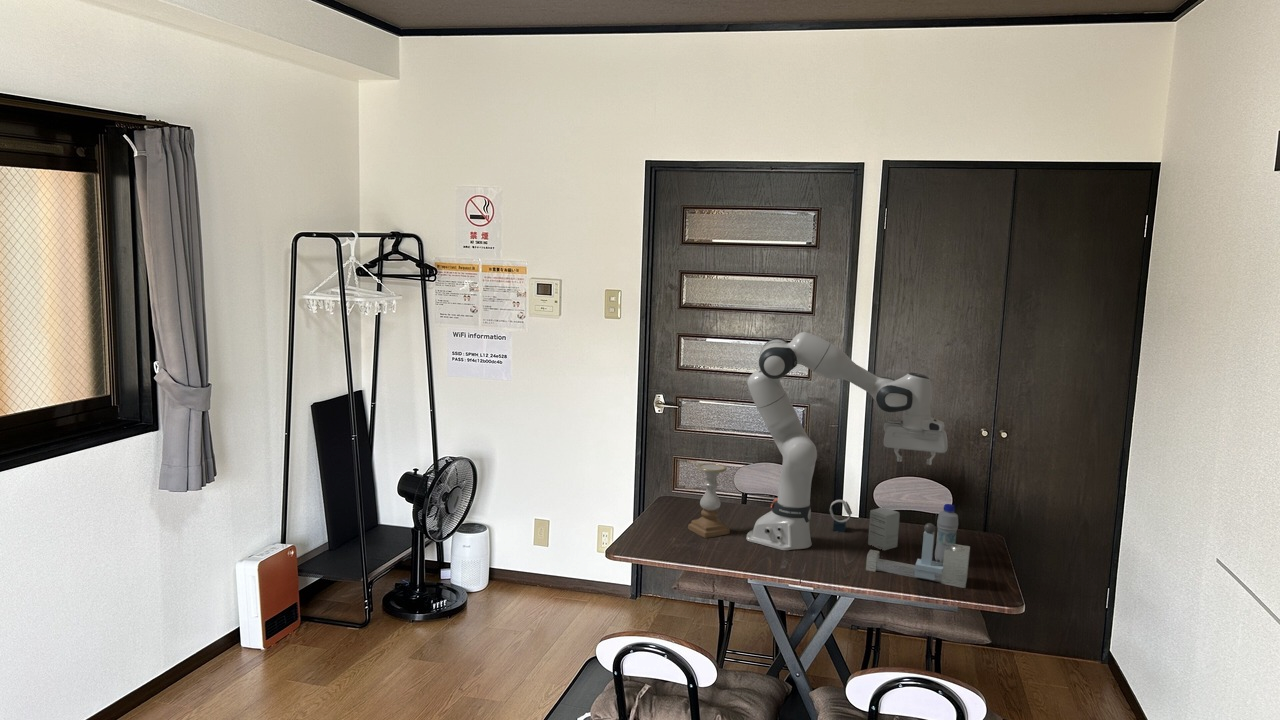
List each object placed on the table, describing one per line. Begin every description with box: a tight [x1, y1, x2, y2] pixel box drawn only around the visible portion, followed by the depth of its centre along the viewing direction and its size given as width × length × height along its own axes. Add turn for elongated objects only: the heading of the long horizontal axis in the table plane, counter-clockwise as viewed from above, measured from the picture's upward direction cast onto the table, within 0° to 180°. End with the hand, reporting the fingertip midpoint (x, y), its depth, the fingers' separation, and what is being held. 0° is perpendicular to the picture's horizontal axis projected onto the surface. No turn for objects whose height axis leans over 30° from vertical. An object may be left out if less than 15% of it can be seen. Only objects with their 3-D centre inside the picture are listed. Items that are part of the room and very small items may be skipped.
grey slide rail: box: [865, 543, 971, 589], centre depth 270 cm, size 30×8×11 cm, turn 65°
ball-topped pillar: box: [913, 522, 943, 581], centre depth 267 cm, size 8×6×17 cm
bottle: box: [934, 503, 959, 563], centre depth 282 cm, size 7×7×20 cm
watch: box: [829, 499, 853, 533], centre depth 312 cm, size 6×8×11 cm
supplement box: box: [867, 506, 900, 551], centre depth 296 cm, size 7×7×13 cm
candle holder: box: [687, 462, 730, 539], centre depth 303 cm, size 11×11×24 cm
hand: (914, 462), depth 282 cm, fingers open, 8 cm apart
